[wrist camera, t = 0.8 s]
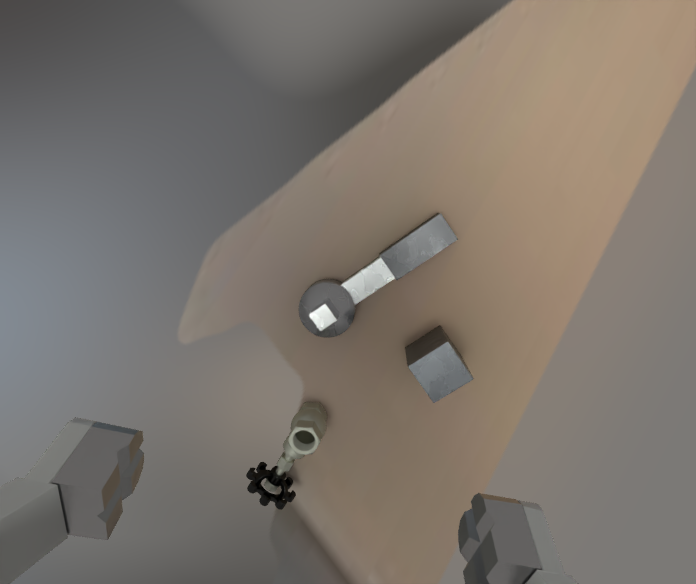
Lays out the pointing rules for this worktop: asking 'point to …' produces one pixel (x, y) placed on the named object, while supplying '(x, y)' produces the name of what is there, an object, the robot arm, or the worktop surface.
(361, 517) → the worktop surface
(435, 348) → the plain grey cube
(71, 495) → the robot arm
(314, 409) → the valve
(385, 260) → the ratchet
